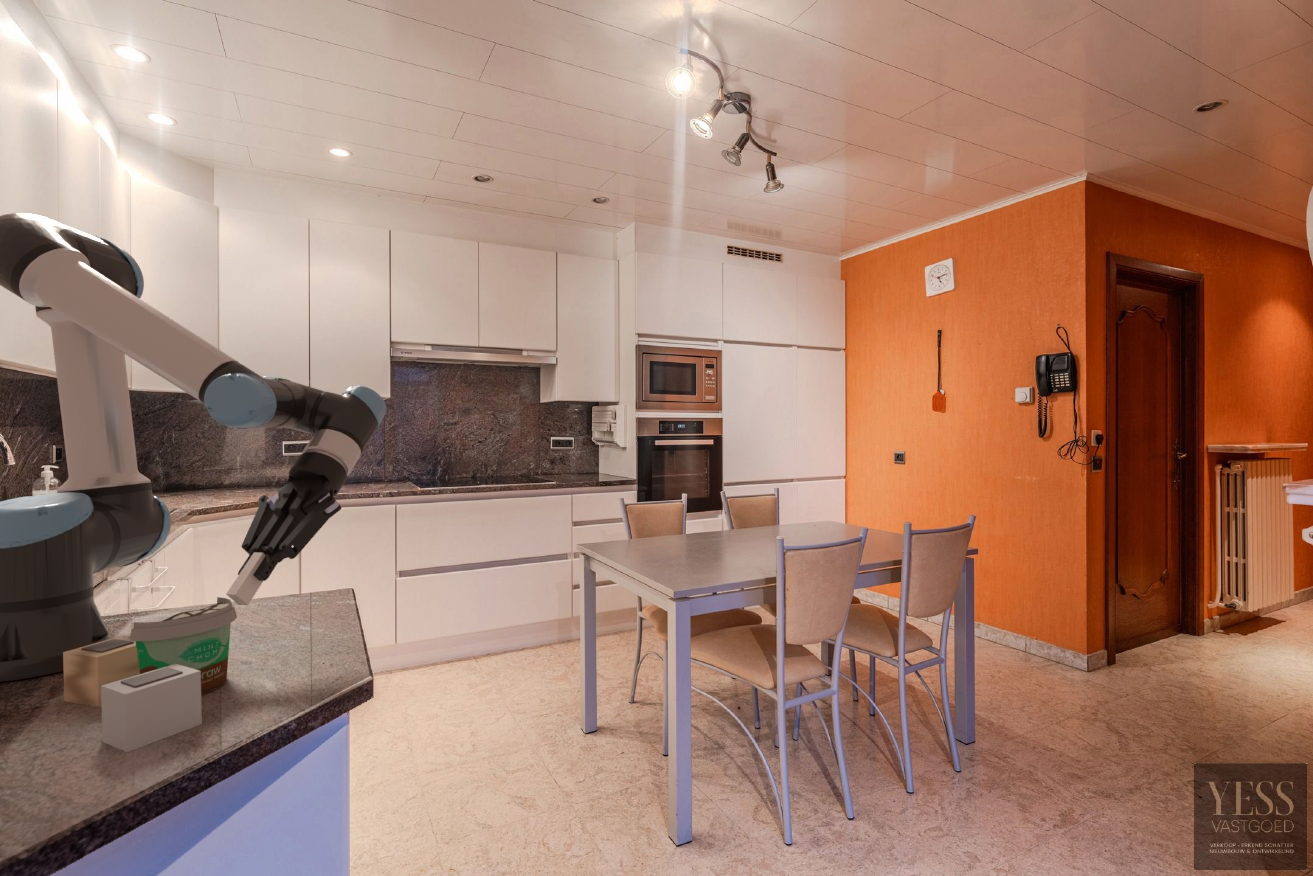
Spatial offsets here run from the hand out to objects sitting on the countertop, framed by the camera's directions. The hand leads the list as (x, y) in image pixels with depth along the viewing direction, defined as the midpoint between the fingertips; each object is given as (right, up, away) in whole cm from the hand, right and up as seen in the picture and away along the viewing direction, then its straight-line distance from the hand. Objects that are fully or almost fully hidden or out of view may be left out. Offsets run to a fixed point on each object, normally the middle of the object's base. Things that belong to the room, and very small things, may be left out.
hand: (237, 599), depth 85 cm
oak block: (-13, -11, -5) cm, 17 cm away
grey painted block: (+1, -11, -15) cm, 19 cm away
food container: (-2, -10, -4) cm, 11 cm away
